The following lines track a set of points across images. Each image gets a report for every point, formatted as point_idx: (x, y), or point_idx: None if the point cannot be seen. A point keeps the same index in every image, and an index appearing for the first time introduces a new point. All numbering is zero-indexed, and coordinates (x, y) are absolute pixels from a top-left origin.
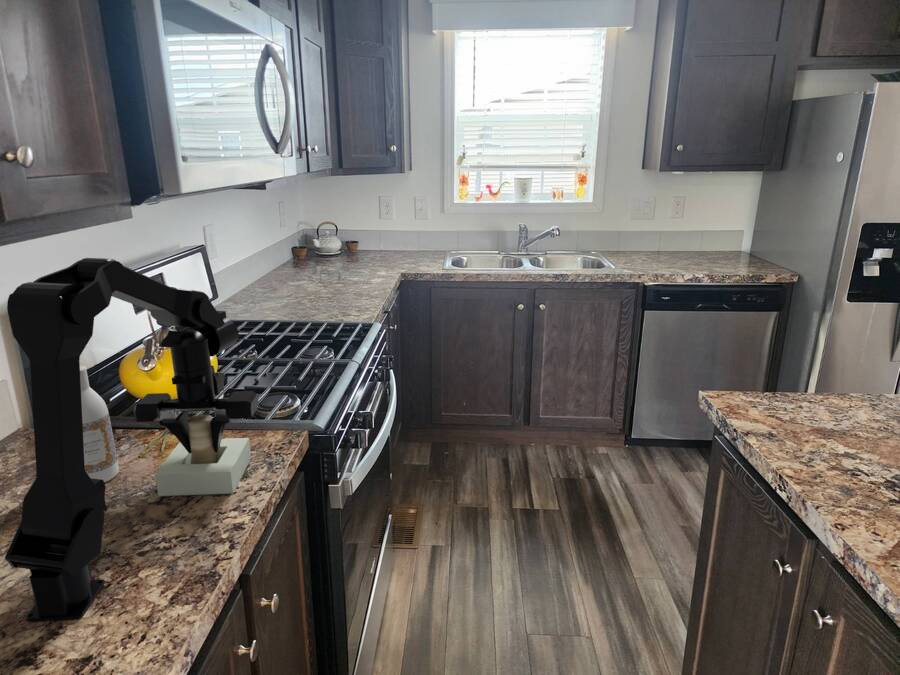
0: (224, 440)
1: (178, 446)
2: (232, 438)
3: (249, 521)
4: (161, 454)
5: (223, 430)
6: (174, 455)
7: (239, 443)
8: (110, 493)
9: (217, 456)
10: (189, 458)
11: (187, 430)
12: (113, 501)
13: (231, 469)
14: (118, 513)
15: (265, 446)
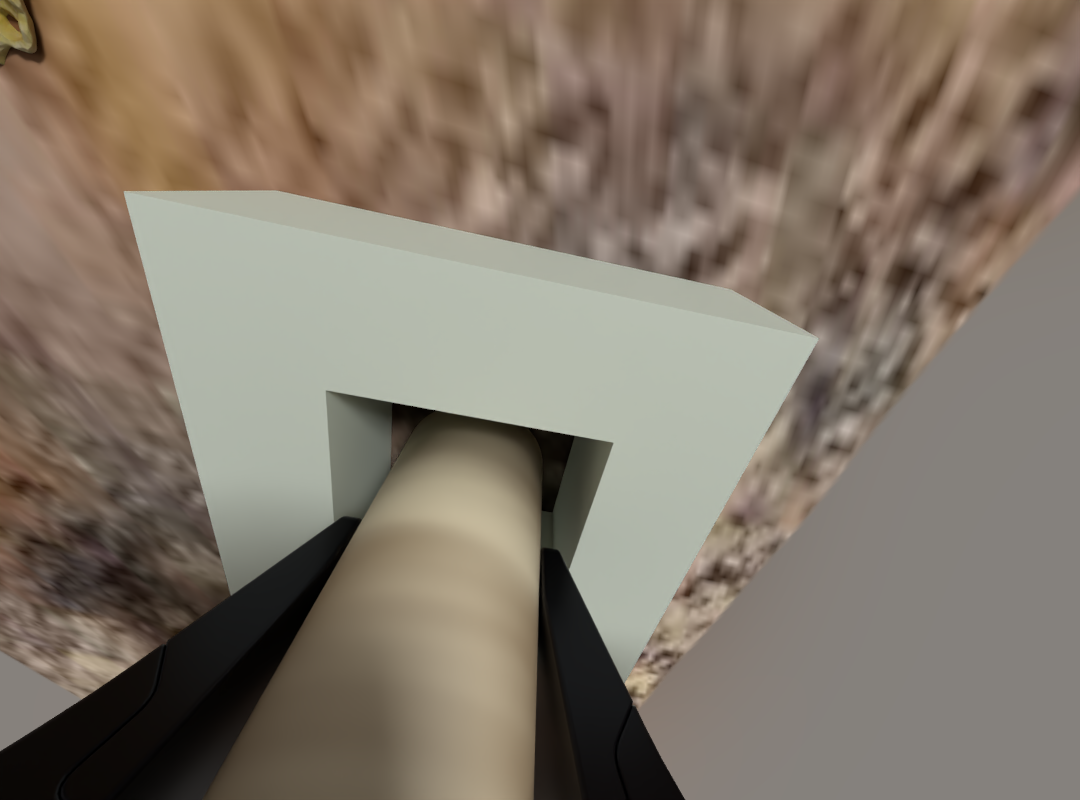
0: (587, 328)
1: (183, 341)
2: (665, 307)
3: (649, 691)
4: (31, 42)
5: (636, 719)
6: (237, 479)
7: (713, 420)
8: (74, 465)
9: (541, 502)
10: (351, 441)
11: (212, 749)
12: (139, 522)
13: (629, 671)
14: (217, 587)
15: (877, 115)
